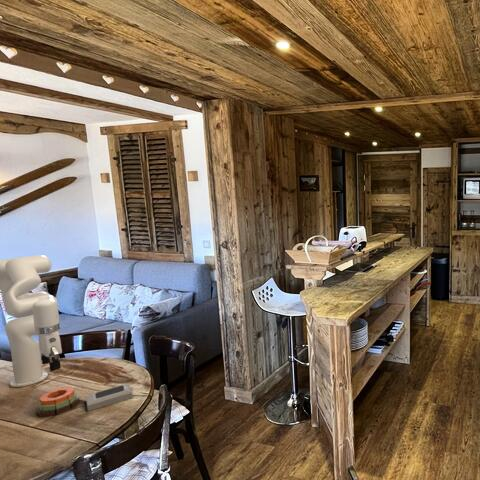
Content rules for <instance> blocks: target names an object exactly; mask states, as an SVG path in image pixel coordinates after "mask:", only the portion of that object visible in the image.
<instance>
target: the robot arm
mask: <svg viewBox="0 0 480 480" xmlns="http://www.w3.org/2000/svg"><path fill="white" fill-rule="evenodd" d="M51 270H52V262H51V260H50V258H49V257H47V255H44V254H39V255H29V256H20V257H19V256H18V257H13V258H6V259H0V293H1V298H2V302H3V307H4V310H5V313H6V314H7V315H8V316H11V317H13V318H15V319H12V320H9V321H8V322H7V323H6V324H5V326H4V331H5V335H6V337H7V339H8V340H7V341H8V343H9V349H10V355H11V363H12V371H13V380H11V381H10V382H9V385H10V387H13V388H21V387H27V386H31V385H34V384H37V383H40V382H42V381H44V380H46V379H47V378H48V376H49V375H48V372H46V371H44V370H43V366H44V365H48V366H49V371H50V372H55V371H57V370H60V369H61V367H62V366H61V359H60V355H61V354H62V353H63V349H62V341H61V337H60V333H59V332H60V331H61V323H60V314H59V305H58V299H57V297H55V296H54V295H52V294H50V293H49V292H47V291H37V292H32V293H31V291H33V290H35V289H36V288H38V287H39V286H40V285H41V283H42V279H41V277H40V275H39V274H45V273H49V272H50V271H51ZM32 336H38V340H37V339H35V338H33V337H32Z"/></svg>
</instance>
